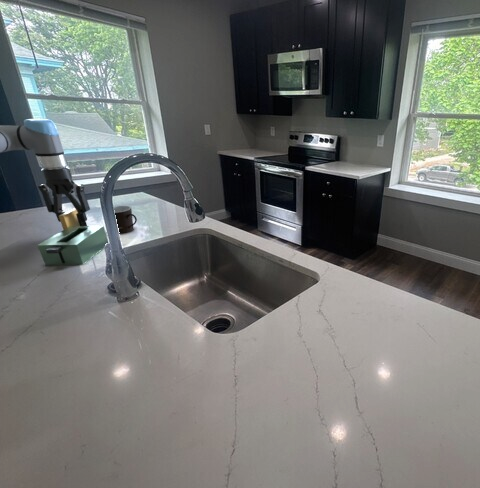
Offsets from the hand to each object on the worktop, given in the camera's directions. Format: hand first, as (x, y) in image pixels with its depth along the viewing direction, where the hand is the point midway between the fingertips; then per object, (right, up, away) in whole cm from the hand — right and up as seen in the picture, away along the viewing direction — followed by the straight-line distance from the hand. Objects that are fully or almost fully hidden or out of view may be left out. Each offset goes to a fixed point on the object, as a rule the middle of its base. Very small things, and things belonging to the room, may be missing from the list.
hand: (76, 229), depth 113 cm
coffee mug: (+13, -1, +9) cm, 16 cm away
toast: (0, -3, +2) cm, 4 cm away
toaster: (+10, -10, -10) cm, 17 cm away
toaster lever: (+11, -8, -21) cm, 25 cm away
